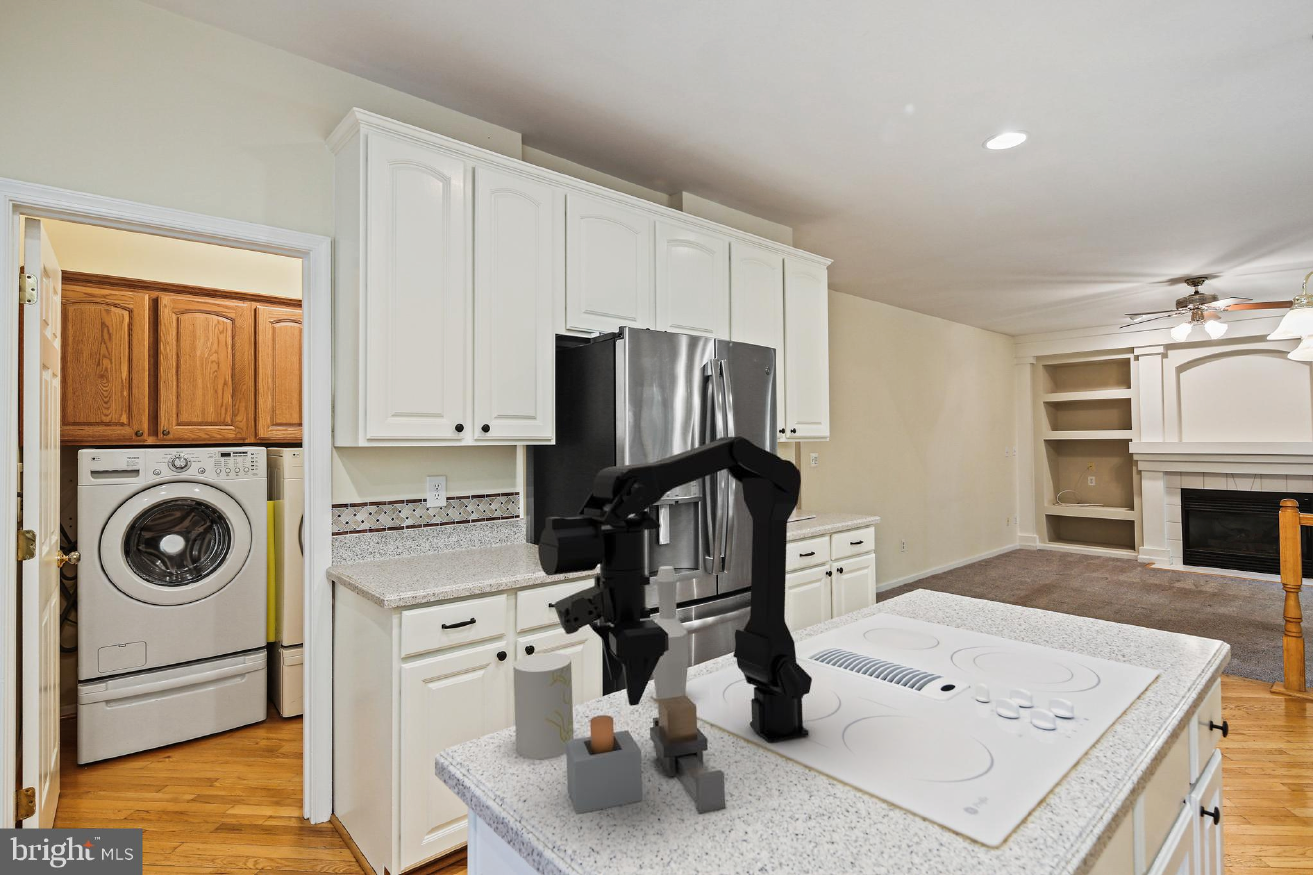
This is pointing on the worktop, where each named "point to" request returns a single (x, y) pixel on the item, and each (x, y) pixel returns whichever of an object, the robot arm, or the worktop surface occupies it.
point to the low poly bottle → (670, 640)
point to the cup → (543, 705)
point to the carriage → (677, 732)
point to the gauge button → (602, 734)
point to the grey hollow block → (603, 773)
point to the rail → (700, 781)
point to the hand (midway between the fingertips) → (624, 691)
